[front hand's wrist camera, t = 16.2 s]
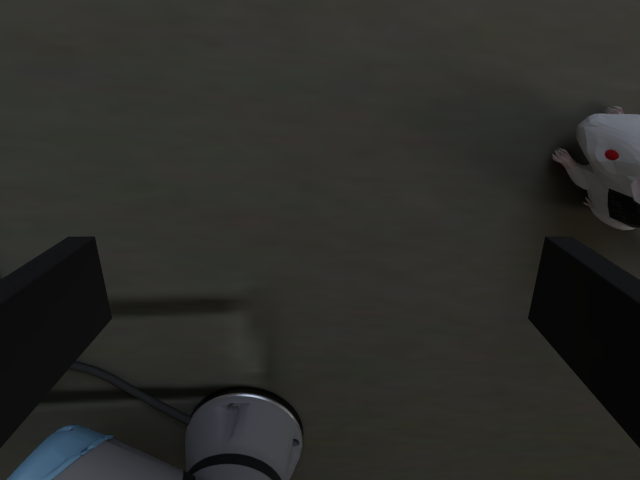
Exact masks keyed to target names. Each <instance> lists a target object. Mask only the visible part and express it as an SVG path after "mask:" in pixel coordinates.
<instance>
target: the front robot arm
mask: <svg viewBox="0 0 640 480" xmlns="http://www.w3.org/2000/svg"><path fill="white" fill-rule="evenodd" d="M111 319H112V316H111V312H110V307H109V302H108V297H107V293H106V288H105V283H104V278H103V274H102V269H101V264H100V260H99V255H98V250H97V245H96V241H95V237H67V238H66V239H64V240H63V241H61V242H59V243H58V244H56V245H55V246H53V247H52V248H50V249H48V250H47V251H45V252H44V253H42V254H41V255H39V256H37V257H36V258H34V259H33V260H31V261H29V262H28V263H26V264H25V265H23V266H22V267H20V268H18V269H17V270H15V271H14V272H12V273H11V274H9V275H7V276H6V277H4V278H3V279H1V280H0V448H1V447H2V445H3V444H4V443H5V442H6V441H7V440H8V439H9V437H10V436H11V435H12V434H13V433H14V432H15V430H16V429H17V428H18V427H19V426H20V425H21V423H22V422H23V421H24V420H25V419H26V418H27V416H28V415H29V414H30V413H31V412H32V411H33V409H34V408H35V407H36V406H37V405H38V404H39V403H40V401H41V400H42V399H43V398H44V397H45V396H46V394H47V393H48V392H49V391H50V390H51V389H52V387H53V386H54V385H55V384H56V383H57V382H58V380H59V379H60V378H61V377H62V376H63V375H64V373H65V372H66V371H67V370H68V369H72V370H77V371H81V372H85V373H88V374H91V375H94V376H96V377H99V378H101V379H103V380H105V381H107V382H109V383H111V384H113V385H115V386H117V387H118V388H120V389H122V390H124V391H125V392H127V393H129V394H130V395H132V396H134V397H136V398H138V399H140V400H142V401H143V402H145V403H147V404H149V405H151V406H153V407H154V408H156V409H158V410H160V411H162V412H164V413H165V414H167V415H169V416H171V417H173V418H175V419H177V420H179V421H181V422H183V423H185V424H187V428H186V433H185V465H186V472H185V471H183V470H181V469H179V468H177V467H175V466H173V465H170V464H168V463H166V462H164V461H161V460H159V459H157V458H155V457H153V456H151V455H149V454H147V453H144V452H142V451H140V450H138V449H136V448H134V447H132V446H130V445H127V444H125V443H123V442H121V441H119V440H117V439H115V437H114V436H113V435H104V434H101V433H98V432H96V431H93V430H91V429H88V428H86V427H83V426H80V425H69V426H66V427H63V428H61V429H59V430H57V431H56V432H54V433H53V434H52V435H50V436H49V437H48V438H47V439H45V440H44V441H43V442H42V443H41V444H40V445H39V446H38V447H37V448H36V449H35V450H34V451H33V452H32V453H31V454H30V455H29V456H28V457H27V458H26V459H25V460H24V461H23V462H22V463H21V465H20V466H19V467H18V468H17V469H16V470H15V471H14V472H13V473H12V474H11V476H10V477H9V478H8V479H7V480H290V478H291V476H292V473H293V471H294V469H295V467H296V465H297V462H298V460H299V458H300V455H301V452H302V446H303V426H302V422H301V420H300V417H299V416H298V414H297V412H296V411H295V410H294V408H293V407H292V406H291V405H290V404H289V403H288V402H286V401H285V400H284V399H282V398H281V397H279V396H278V395H276V394H274V393H271V392H269V391H266V390H263V389H259V388H254V387H231V388H226V389H222V390H219V391H217V392H214V393H212V394H210V395H209V396H207V397H206V398H204V399H203V400H202V401H201V402H200V403H199V404H198V405H197V406H196V407H195V409H194V411H193V412H192V415H191V417H189V416H188V415H186V414H184V413H182V412H180V411H178V410H176V409H174V408H172V407H170V406H168V405H167V404H165V403H163V402H161V401H159V400H157V399H155V398H154V397H152V396H150V395H148V394H146V393H145V392H143V391H141V390H139V389H137V388H135V387H134V386H132V385H130V384H128V383H127V382H125V381H123V380H122V379H120V378H118V377H116V376H114V375H112V374H110V373H108V372H106V371H104V370H102V369H99V368H96V367H94V366H91V365H87V364H84V363H80V362H75V361H76V360H77V358H78V357H79V356H80V355H81V354H82V353H83V351H84V350H85V349H86V348H87V347H88V346H89V344H90V343H91V342H92V341H93V340H94V339H95V337H96V336H97V335H98V334H99V333H100V332H101V331H102V329H103V328H104V327H105V326H106V325H107V324H108V322H109V321H110V320H111ZM528 319H529V320H530V321H531V322H532V324H533V325H534V326H535V327H536V328H537V329H538V331H539V332H540V333H541V334H542V335H543V336H544V337H545V339H546V340H547V341H548V342H549V343H550V344H551V346H552V347H553V348H554V349H555V350H556V351H557V353H558V354H559V355H560V356H561V357H562V358H563V360H564V361H565V362H566V363H567V364H568V365H569V367H570V368H571V369H572V370H573V371H574V372H575V373H576V375H577V376H578V377H579V378H580V379H581V380H582V382H583V383H584V384H585V385H586V386H587V387H588V389H589V390H590V391H591V392H592V393H593V394H594V396H595V397H596V398H597V399H598V400H599V401H600V403H601V404H602V405H603V406H604V407H605V408H606V409H607V411H608V412H609V413H610V414H611V415H612V416H613V418H614V419H615V420H616V421H617V422H618V423H619V425H620V426H621V427H622V428H623V429H624V430H625V432H626V433H627V434H628V435H629V436H630V437H631V439H632V440H633V441H634V442H635V443H636V444H637V445H638V447H639V448H640V280H639V279H637V278H636V277H634V276H633V275H631V274H629V273H628V272H626V271H625V270H623V269H622V268H620V267H618V266H617V265H615V264H614V263H612V262H611V261H609V260H607V259H606V258H604V257H603V256H601V255H599V254H598V253H596V252H595V251H593V250H592V249H590V248H588V247H587V246H585V245H584V244H582V243H581V242H579V241H577V240H576V239H574V238H573V237H545V241H544V245H543V250H542V255H541V260H540V264H539V269H538V274H537V278H536V283H535V288H534V293H533V297H532V302H531V307H530V312H529V316H528Z"/></svg>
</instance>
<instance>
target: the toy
mask: <svg viewBox="0 0 640 480" xmlns="http://www.w3.org/2000/svg"><path fill="white" fill-rule="evenodd" d="M612 107H614V108H615V109H612V108H609V109H610V110H611V111H610V110H608V109H606V110H607V111H608V112H607V111H605V110H604V111H605V114H593V115H591V116H588V117H587V118H586V119H585V120H584V121H582V122H581V123H580V124H578V126H577V135H576V136H577V140H578V143H579V145H580V147H581V149H582V151H583V153H584V155H585V156H586V158H587V160H588V161H589V163H590V164H588V165H586V166H585V165H581V164H579V163H577V162H575V161H574V160H573V158H572V157H571V156H570V155H569V153H568V152H567V151H566V150H564V149H561V148H559V149H560V150H561V151H562V152H561V151H560V150H558V149H556V150H557V151H558V152H557V151H555V150H554V151H555V152H556V153H555V155H556V156H555V155H554V154H552V155H553V160H555V161H557V162H559V163H561V164H562V165H563V166H564V167H565V168H566V171H567V173H568V175H569V176H570V178H571V179H572V181H573V182H574V183H575V184H576V185H578V186H579V187H581V188H583V189H586V190H587V193H588V195H587V196H588V197H589V199H588V198H586V197H585V198H586V201H587V202H588V203H585V202H584V204H585V205H587V206H589V207H590V209H591V211H592V212H593V214H594V215H595V216H596V217H597V218H599V219H600V220H601V221H602V222H604V223H606V224H608V225H609V226H611V227H614V228H617V229H621V230H633V229H635V228H638V229H640V115H637V114H624V113H623V110H622V108H621V107H616V106H612ZM607 108H608V107H607ZM557 148H558V147H557Z"/></svg>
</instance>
